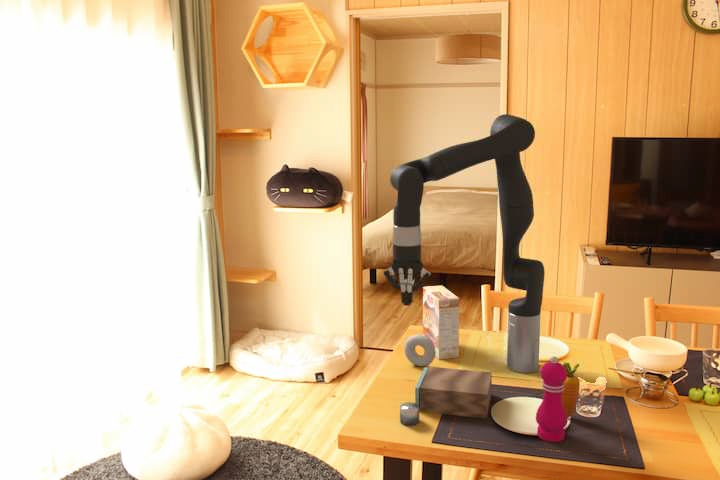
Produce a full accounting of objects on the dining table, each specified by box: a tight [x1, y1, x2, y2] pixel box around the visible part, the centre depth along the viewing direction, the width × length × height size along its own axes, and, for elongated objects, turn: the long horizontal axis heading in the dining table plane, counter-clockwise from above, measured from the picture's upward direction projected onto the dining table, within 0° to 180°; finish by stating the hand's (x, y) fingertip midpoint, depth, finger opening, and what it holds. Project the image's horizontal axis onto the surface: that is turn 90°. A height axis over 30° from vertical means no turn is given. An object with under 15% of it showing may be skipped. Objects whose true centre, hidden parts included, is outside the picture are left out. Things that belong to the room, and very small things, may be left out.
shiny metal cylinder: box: [399, 401, 420, 427], centre depth 162 cm, size 5×5×4 cm
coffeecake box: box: [422, 284, 460, 360], centre depth 207 cm, size 15×7×20 cm, turn 14°
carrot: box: [561, 361, 581, 418], centre depth 161 cm, size 5×5×15 cm
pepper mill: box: [535, 356, 569, 443], centre depth 153 cm, size 7×7×20 cm
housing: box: [419, 366, 493, 419], centre depth 172 cm, size 17×14×6 cm
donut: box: [403, 334, 436, 367], centre depth 196 cm, size 10×3×10 cm, turn 61°
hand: (407, 304), depth 175 cm, fingers closed
